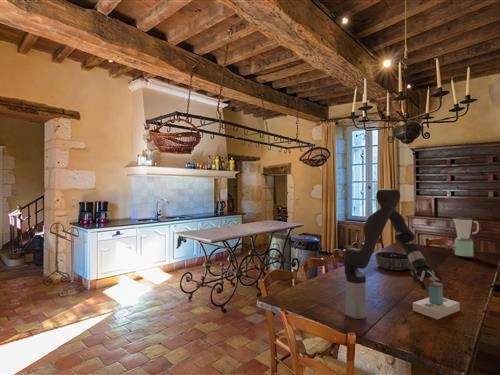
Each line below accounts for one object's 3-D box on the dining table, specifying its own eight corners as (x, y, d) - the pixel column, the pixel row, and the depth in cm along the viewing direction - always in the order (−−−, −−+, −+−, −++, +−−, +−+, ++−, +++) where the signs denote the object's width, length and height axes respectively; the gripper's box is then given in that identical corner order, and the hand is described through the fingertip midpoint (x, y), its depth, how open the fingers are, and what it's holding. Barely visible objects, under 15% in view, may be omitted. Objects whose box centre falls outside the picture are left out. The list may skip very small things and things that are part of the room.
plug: (438, 313, 148) (437, 285, 148) (429, 309, 152) (428, 282, 152) (443, 311, 150) (442, 283, 150) (434, 308, 154) (433, 281, 154)
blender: (451, 257, 258) (451, 217, 258) (453, 254, 269) (452, 216, 268) (479, 260, 246) (478, 218, 246) (479, 257, 257) (478, 217, 257)
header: (437, 319, 141) (437, 310, 141) (413, 310, 151) (412, 302, 151) (459, 310, 150) (459, 302, 150) (435, 302, 161) (435, 294, 161)
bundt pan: (419, 268, 226) (419, 255, 226) (401, 275, 211) (400, 261, 211) (386, 261, 248) (386, 249, 248) (368, 267, 233) (367, 254, 233)
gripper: (408, 258, 161) (423, 286, 150) (433, 257, 162) (449, 284, 151) (403, 265, 166) (416, 292, 155) (426, 264, 168) (441, 291, 156)
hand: (432, 288), depth 153 cm, fingers open, 8 cm apart
